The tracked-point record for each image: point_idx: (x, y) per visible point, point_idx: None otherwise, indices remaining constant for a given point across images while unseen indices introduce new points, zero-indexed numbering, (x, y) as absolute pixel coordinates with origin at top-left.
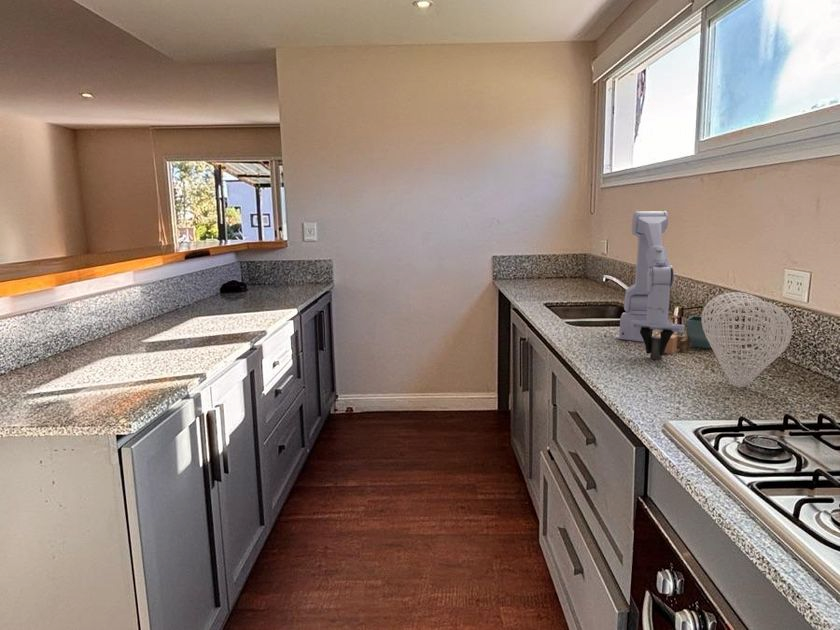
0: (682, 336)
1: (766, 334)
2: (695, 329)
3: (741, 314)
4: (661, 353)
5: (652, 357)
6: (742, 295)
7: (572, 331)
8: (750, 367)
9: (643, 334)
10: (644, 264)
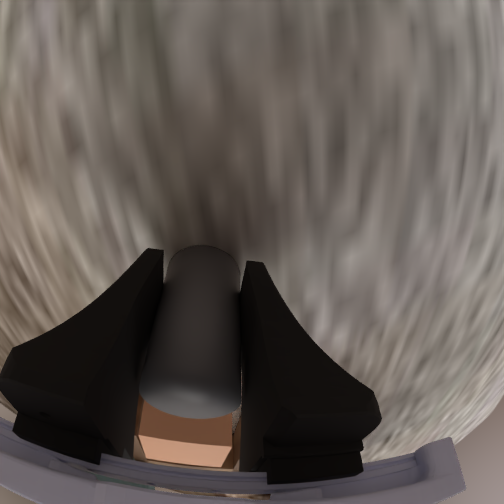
0: (157, 463)
1: None
2: (117, 482)
3: None
4: (146, 253)
5: (220, 254)
6: None
7: (448, 428)
8: None
9: (330, 382)
10: None
